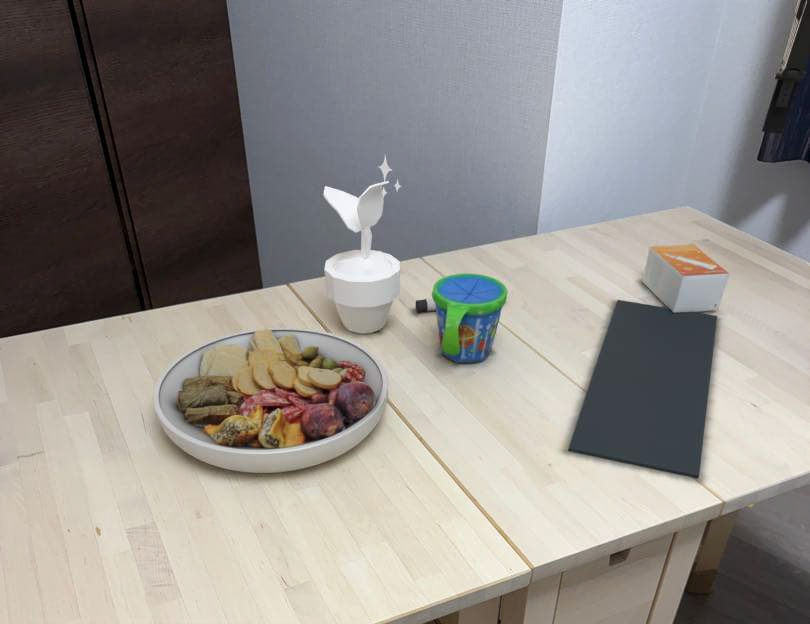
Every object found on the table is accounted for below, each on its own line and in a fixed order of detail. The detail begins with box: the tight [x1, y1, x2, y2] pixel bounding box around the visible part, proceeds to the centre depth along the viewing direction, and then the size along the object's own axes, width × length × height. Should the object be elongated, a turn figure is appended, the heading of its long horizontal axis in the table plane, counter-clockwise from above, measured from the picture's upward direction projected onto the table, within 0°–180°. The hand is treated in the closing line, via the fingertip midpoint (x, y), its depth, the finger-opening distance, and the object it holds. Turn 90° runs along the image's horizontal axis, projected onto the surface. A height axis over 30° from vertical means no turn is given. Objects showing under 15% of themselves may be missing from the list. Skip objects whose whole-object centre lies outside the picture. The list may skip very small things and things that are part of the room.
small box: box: [641, 243, 730, 313], centre depth 124 cm, size 8×6×13 cm
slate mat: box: [567, 299, 718, 480], centre depth 107 cm, size 16×44×1 cm, turn 160°
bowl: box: [152, 326, 389, 474], centre depth 97 cm, size 30×30×8 cm
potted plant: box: [323, 154, 403, 334], centre depth 109 cm, size 13×12×25 cm
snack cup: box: [431, 273, 509, 364], centre depth 109 cm, size 16×10×10 cm
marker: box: [415, 297, 436, 313], centre depth 122 cm, size 15×2×2 cm, turn 104°
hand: (772, 131), depth 106 cm, fingers closed
